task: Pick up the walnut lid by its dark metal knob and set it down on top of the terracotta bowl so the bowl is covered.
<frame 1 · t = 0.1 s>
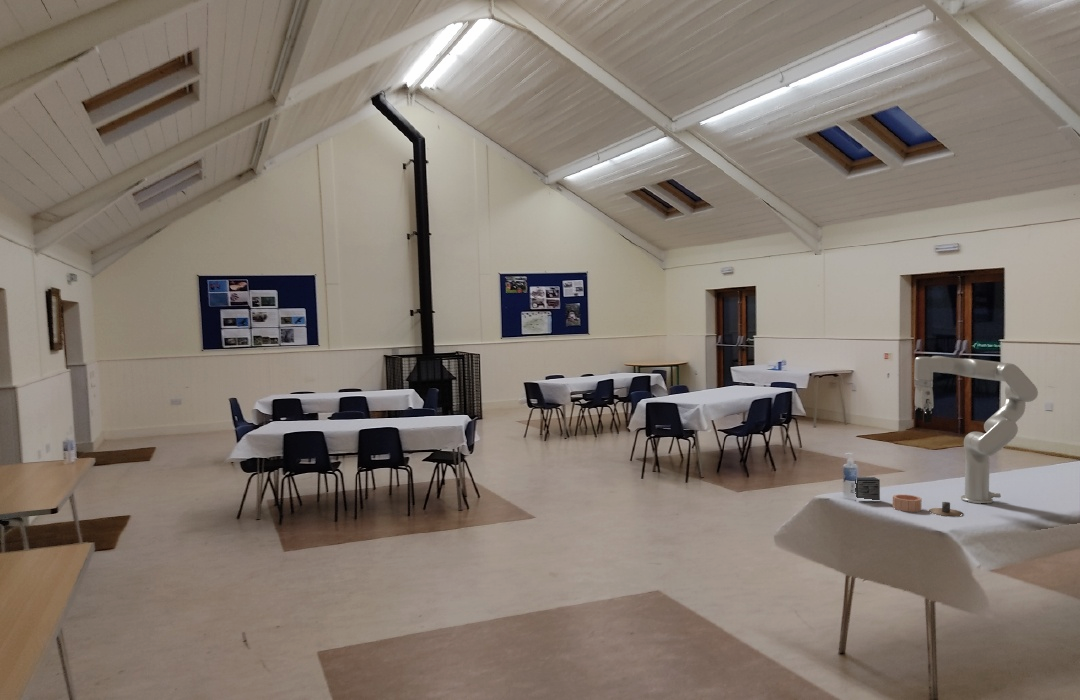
hand: (922, 420, 338), 37 cm above the table, tool pointing down, fingers open, 9 cm apart
bowl: (906, 508, 323), on the table
lid: (946, 513, 316), on the table
small box: (865, 501, 339), on the table
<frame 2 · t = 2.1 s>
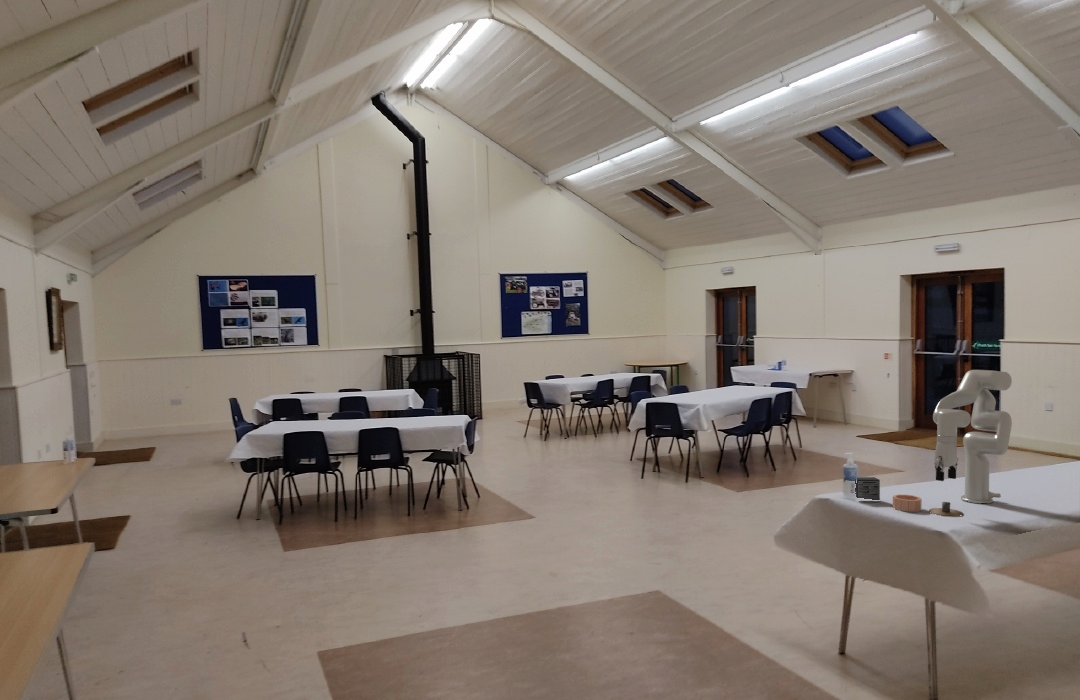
hand: (945, 479, 315), 14 cm above the table, tool pointing down, fingers open, 9 cm apart
nothing on the table moved.
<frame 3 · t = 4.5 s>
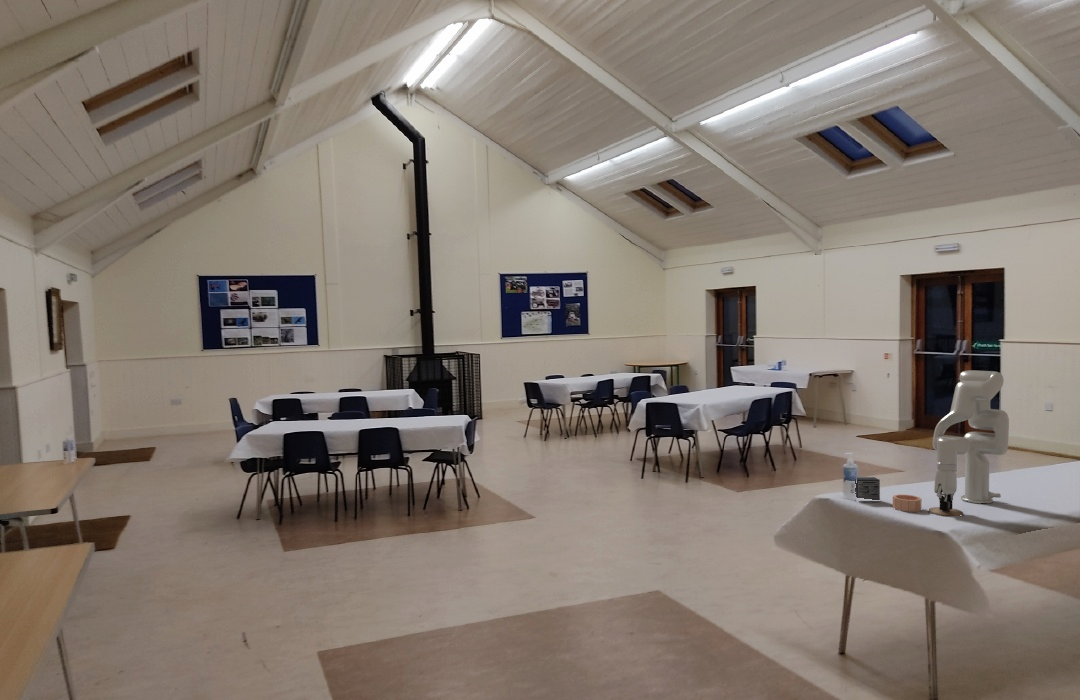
hand: (945, 509, 316), 2 cm above the table, tool pointing down, fingers closed on lid, 3 cm apart
lid: (945, 512, 316), on the table, touching gripper
everything else where it was.
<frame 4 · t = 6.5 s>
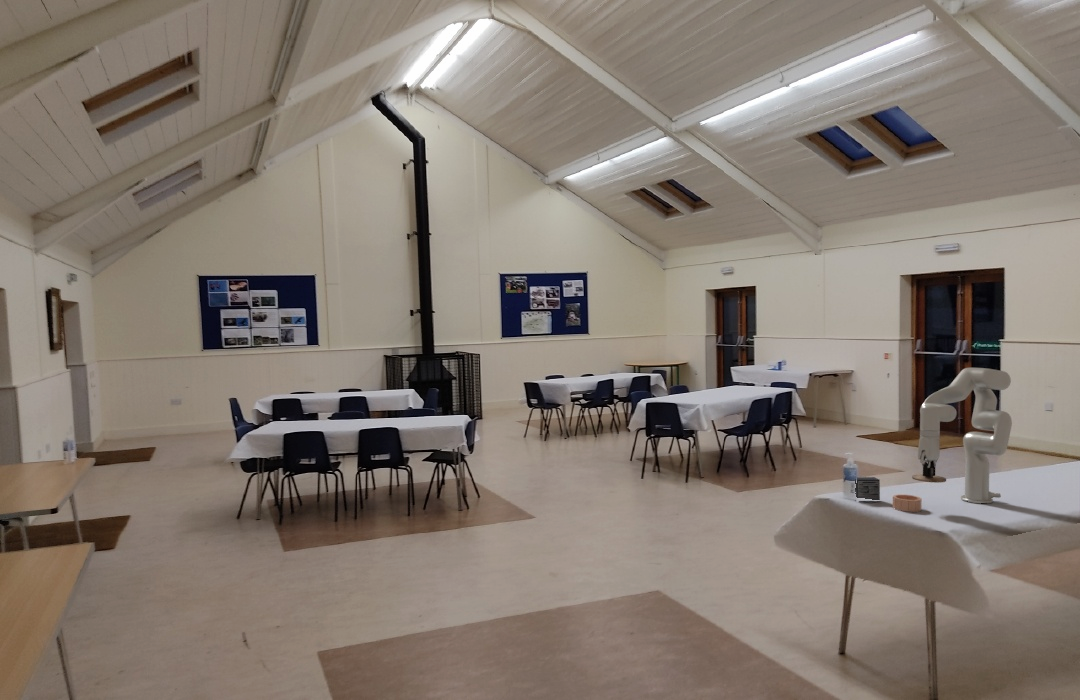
hand: (928, 475, 319), 16 cm above the table, tool pointing down, fingers closed on lid, 3 cm apart
lid: (929, 479, 319), point 14 cm above the table, touching gripper
everything else where it was.
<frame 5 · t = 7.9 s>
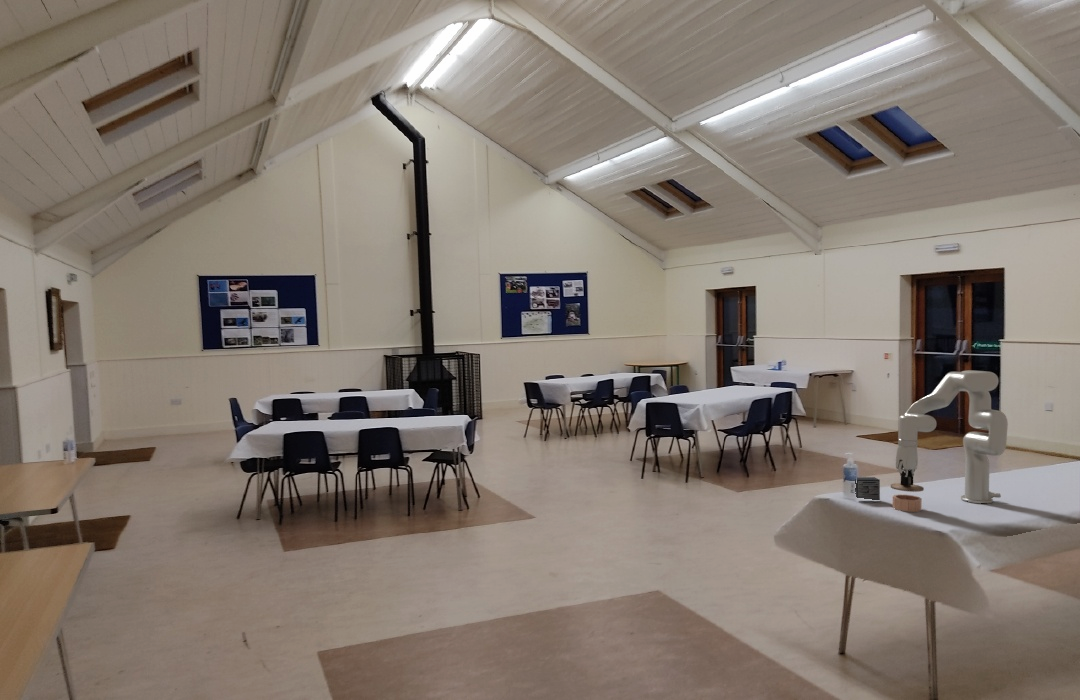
hand: (906, 484, 323), 11 cm above the table, tool pointing down, fingers closed on lid, 3 cm apart
lid: (906, 488, 323), point 9 cm above the table, touching gripper
everything else where it was.
when the fingers open (8 cm above the table, at t = 9.0 s): lid drops 1 cm, resting on bowl.
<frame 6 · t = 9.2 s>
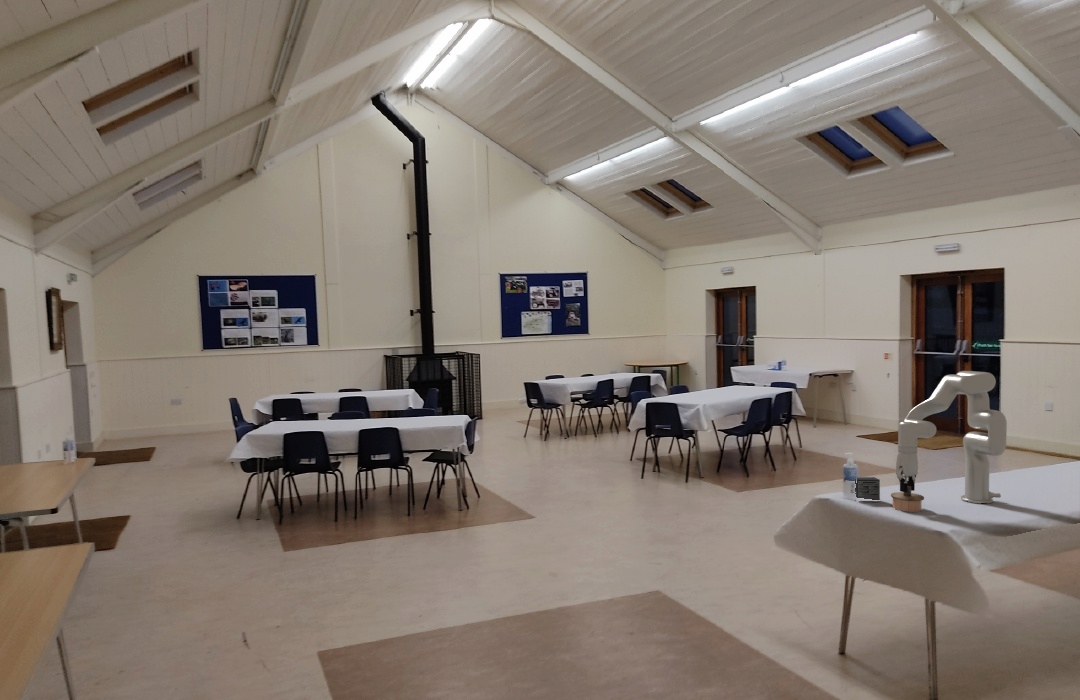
hand: (907, 490, 323), 8 cm above the table, tool pointing down, fingers open, 4 cm apart
lid: (907, 497, 323), point 5 cm above the table, touching bowl
everything else where it was.
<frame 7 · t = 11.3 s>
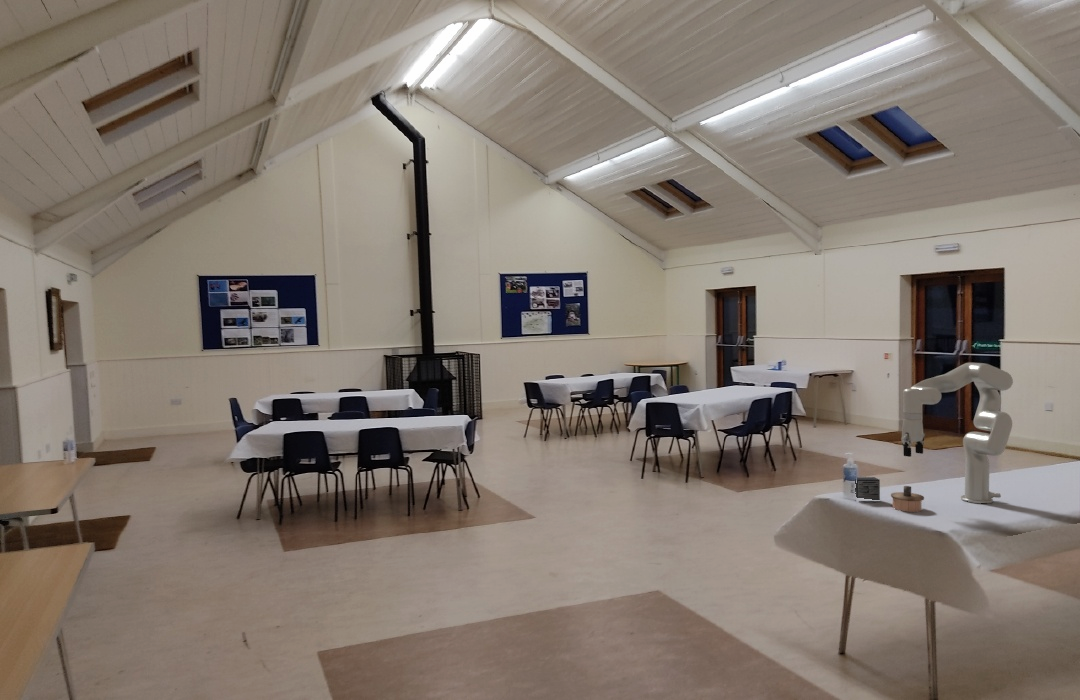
hand: (913, 454, 326), 23 cm above the table, tool pointing down, fingers open, 9 cm apart
nothing on the table moved.
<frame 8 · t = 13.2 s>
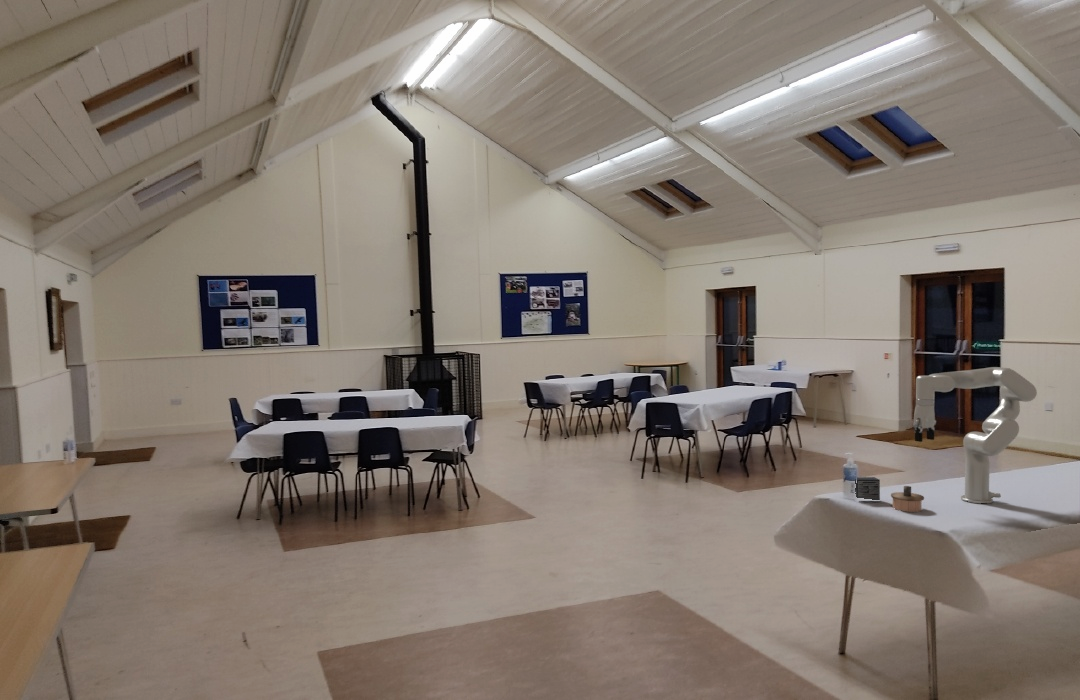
hand: (924, 440, 334), 28 cm above the table, tool pointing down, fingers open, 9 cm apart
nothing on the table moved.
at the end: lid 0.1 cm off-centre on the bowl, point 5.0 cm above the bowl's base; lid tilted 0°; the gripper is holding nothing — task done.
